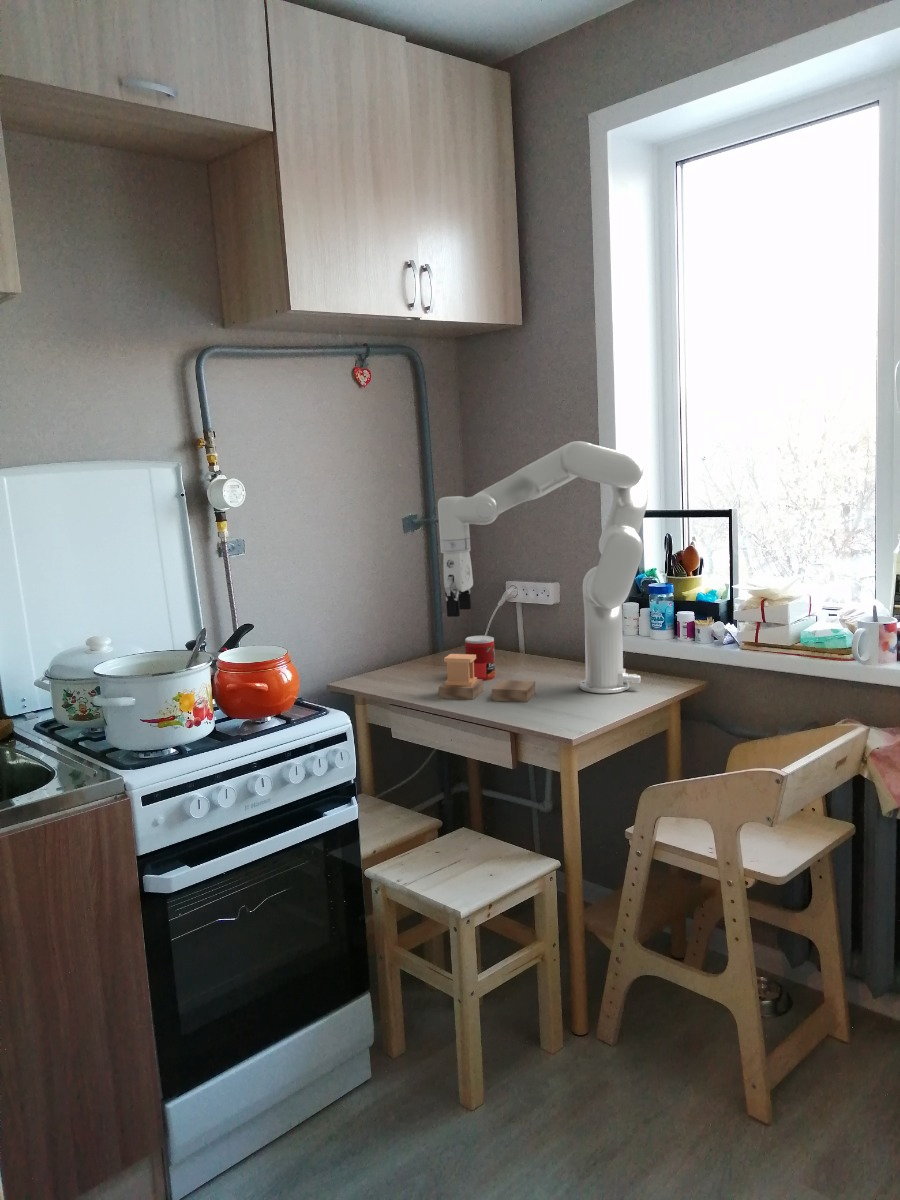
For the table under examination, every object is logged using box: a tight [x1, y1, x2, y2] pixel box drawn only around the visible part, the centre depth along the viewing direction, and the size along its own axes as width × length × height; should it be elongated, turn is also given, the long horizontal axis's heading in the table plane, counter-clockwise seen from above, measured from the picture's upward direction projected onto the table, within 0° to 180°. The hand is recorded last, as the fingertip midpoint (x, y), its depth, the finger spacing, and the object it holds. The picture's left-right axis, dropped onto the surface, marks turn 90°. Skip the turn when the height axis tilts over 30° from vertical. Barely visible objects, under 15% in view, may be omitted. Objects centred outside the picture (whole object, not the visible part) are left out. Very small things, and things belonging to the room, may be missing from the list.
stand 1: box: [438, 679, 484, 701], centre depth 244 cm, size 9×9×3 cm
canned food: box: [464, 635, 496, 681], centre depth 260 cm, size 8×8×11 cm
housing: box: [443, 653, 477, 686], centre depth 243 cm, size 7×5×7 cm
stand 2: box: [491, 679, 536, 703], centre depth 240 cm, size 9×9×3 cm
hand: (459, 612), depth 241 cm, fingers open, 9 cm apart
